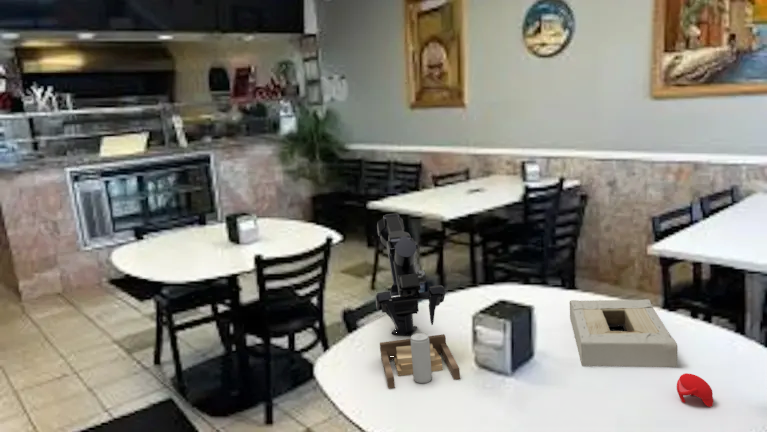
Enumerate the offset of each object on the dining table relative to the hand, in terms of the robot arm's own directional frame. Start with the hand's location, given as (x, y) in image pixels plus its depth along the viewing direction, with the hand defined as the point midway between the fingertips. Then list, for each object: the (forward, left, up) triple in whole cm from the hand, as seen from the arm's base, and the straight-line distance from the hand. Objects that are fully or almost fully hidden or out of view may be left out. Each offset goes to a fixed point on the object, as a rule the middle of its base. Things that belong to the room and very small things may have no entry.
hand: (415, 326), depth 157 cm
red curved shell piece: (+1, +66, -12) cm, 67 cm away
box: (-28, +49, -13) cm, 58 cm away
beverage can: (+5, +3, -12) cm, 14 cm away
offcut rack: (0, 0, -12) cm, 12 cm away
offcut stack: (-1, -1, -12) cm, 12 cm away
